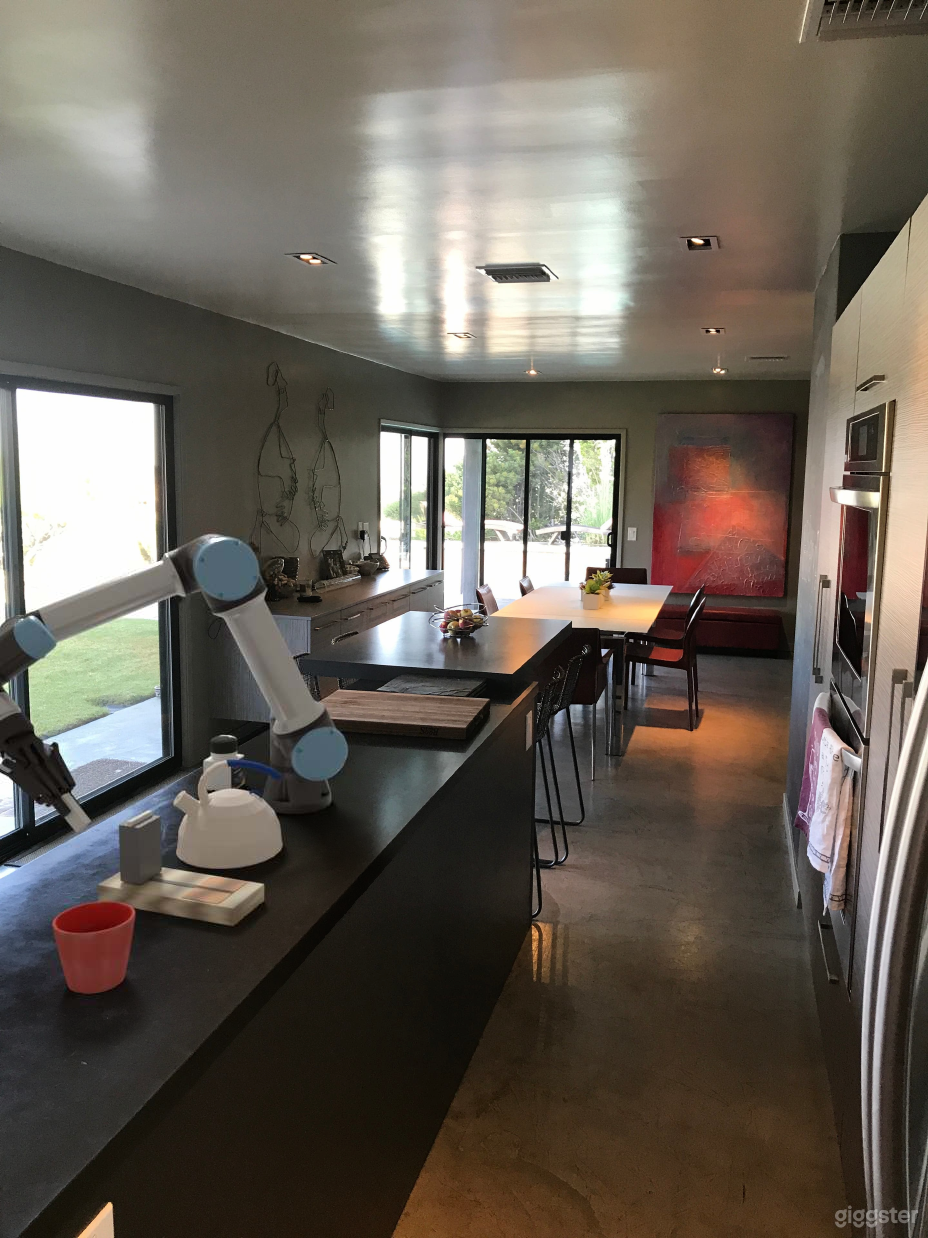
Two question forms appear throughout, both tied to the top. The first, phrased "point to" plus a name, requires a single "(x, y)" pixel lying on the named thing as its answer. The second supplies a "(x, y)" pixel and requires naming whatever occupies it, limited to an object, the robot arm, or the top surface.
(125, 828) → the fader knob
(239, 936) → the top surface
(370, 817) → the top surface
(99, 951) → the flower pot
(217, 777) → the medicine bottle
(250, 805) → the kettle
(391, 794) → the top surface
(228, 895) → the fader console
